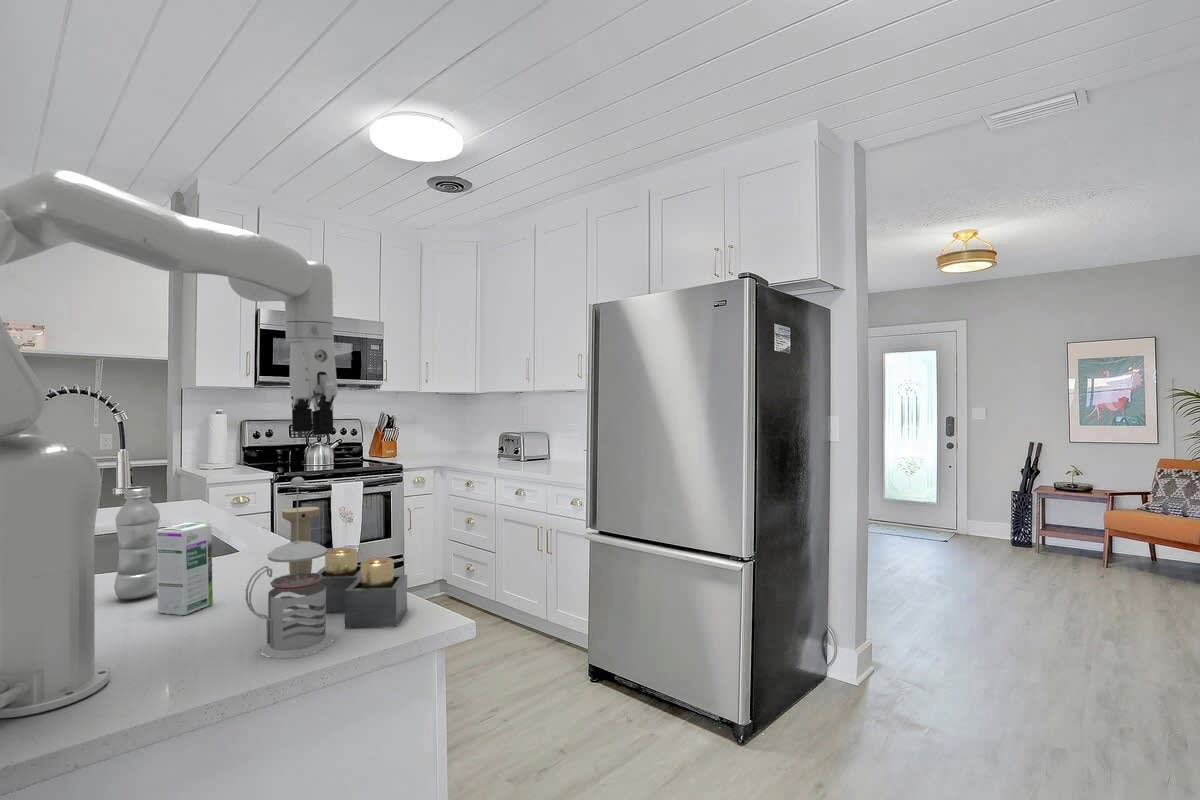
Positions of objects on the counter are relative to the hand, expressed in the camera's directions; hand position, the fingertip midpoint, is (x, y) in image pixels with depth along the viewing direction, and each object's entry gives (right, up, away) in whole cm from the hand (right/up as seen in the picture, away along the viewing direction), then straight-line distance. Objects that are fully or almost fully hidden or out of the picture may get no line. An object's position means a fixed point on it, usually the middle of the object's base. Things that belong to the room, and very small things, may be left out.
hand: (312, 432), depth 107 cm
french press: (+4, -31, -16) cm, 35 cm away
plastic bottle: (-34, -31, +5) cm, 46 cm away
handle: (-8, -31, +11) cm, 33 cm away
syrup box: (-21, -31, -1) cm, 37 cm away
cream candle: (+4, -27, +1) cm, 27 cm away
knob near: (+13, -27, -5) cm, 30 cm away
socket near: (+13, -31, -5) cm, 34 cm away
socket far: (+4, -31, +1) cm, 31 cm away
